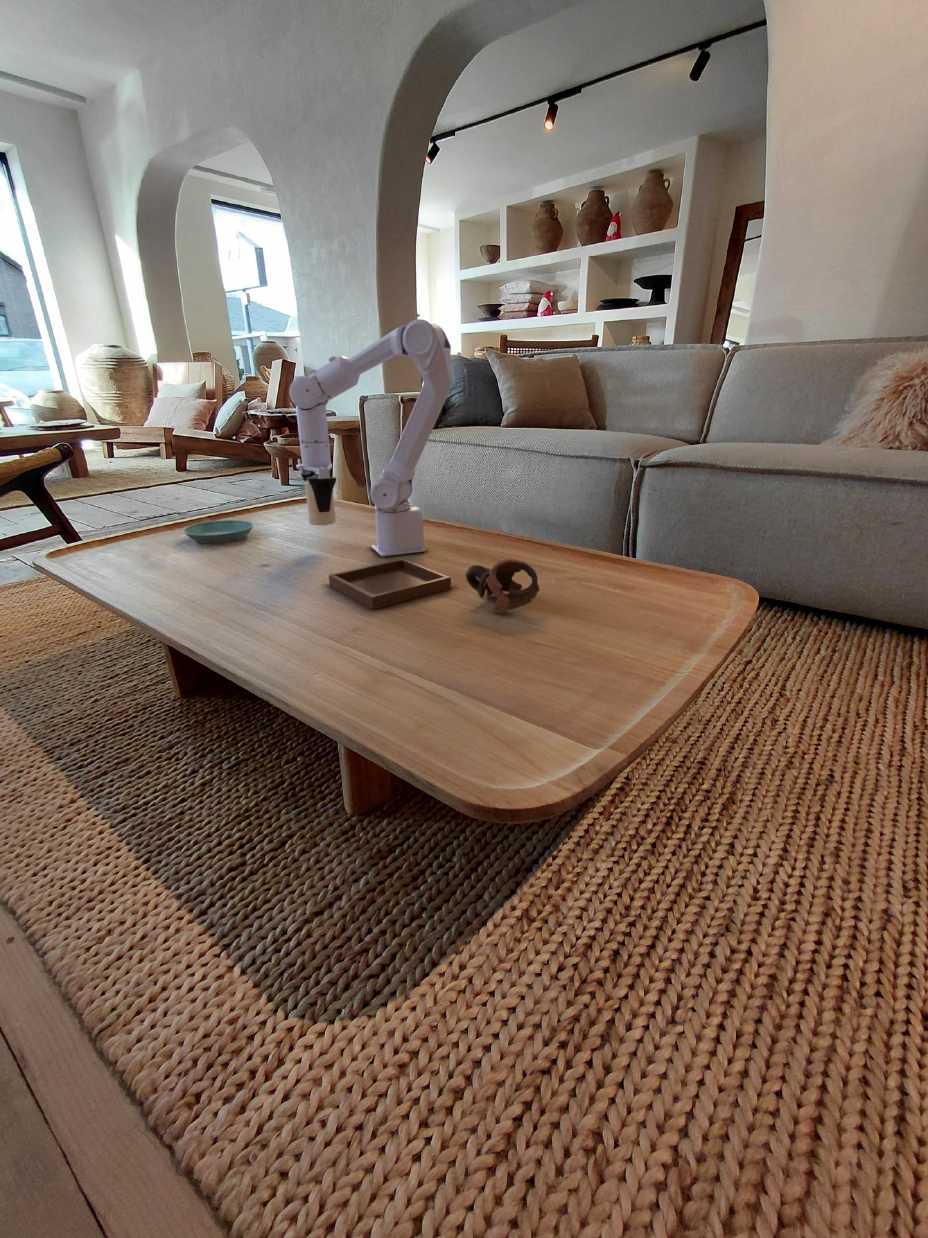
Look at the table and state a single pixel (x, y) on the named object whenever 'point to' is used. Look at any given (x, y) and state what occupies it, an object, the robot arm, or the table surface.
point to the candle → (313, 511)
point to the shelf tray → (389, 583)
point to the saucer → (218, 531)
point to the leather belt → (503, 583)
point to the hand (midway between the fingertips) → (321, 509)
